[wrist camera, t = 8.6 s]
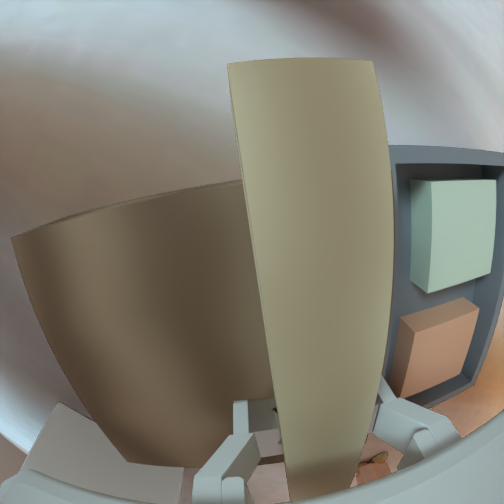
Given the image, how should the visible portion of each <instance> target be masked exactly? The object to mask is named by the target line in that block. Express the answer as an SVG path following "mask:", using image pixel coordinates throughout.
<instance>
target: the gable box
mask: <svg viewBox="0 0 504 504" xmlns="http://www.w3.org/2000/svg"><path fill="white" fill-rule="evenodd" d="M28 469H32V470H36V471H38V472H41V473H43V474H45V475H48V476H50V477H53V478H55V479H58V480H61V481H63V482H66V483H69V484H72V485H75V486H78V487H81V488H85V489H88V490H92V491H95V492H99V493H103V494H107V495H111V496H116V497H120V498H125V499H130V500H136V501H142V502H148V503H156V504H180V497H181V489H182V482H183V474H184V467H166V466H154V465H145V464H136V463H129V462H127V461H126V460H125V458H124V457H123V456H122V455H121V454H120V453H119V451H118V450H117V449H116V448H115V447H114V445H113V444H112V443H111V442H110V440H109V439H108V438H107V437H106V435H105V434H104V433H103V431H102V430H101V429H100V427H99V426H98V425H97V423H96V422H94V421H93V420H91V419H89V418H87V417H85V416H83V415H81V414H80V413H78V412H76V411H74V410H72V409H71V408H69V407H67V406H66V405H64V404H62V403H61V402H60V403H57V405H56V407H55V408H54V410H53V412H52V413H51V415H50V417H49V418H48V420H47V422H46V423H45V425H44V427H43V428H42V430H41V432H40V434H39V435H38V437H37V439H36V441H35V442H34V444H33V446H32V448H31V450H30V452H29V453H28V455H27V457H26V459H25V461H24V463H23V465H22V467H21V469H20V471H19V473H20V472H22V471H25V470H28Z"/></svg>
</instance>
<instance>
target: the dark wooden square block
mask: <svg viewBox="0 0 504 504" xmlns="http://www.w3.org/2000/svg"><path fill="white" fill-rule="evenodd" d="M391 179H392V194H393V219H394V255H393V280H392V295H391V307H390V317H389V326H388V334H387V342H388V335H389V327H390V318H391V308H392V297H393V283H394V261H395V211H394V190H393V176H392V170H391ZM11 239H12V243H13V247H14V251H15V255H16V259H17V262H18V265H19V269H20V272H21V275H22V278H23V281H24V284H25V287H26V290H27V293H28V296H29V298H30V301H31V304H32V306H33V309H34V311H35V314H36V316H37V319H38V321H39V323H40V326H41V328H42V330H43V332H44V334H45V337H46V339H47V341H48V343H49V345H50V347H51V349H52V351H53V353H54V355H55V357H56V359H57V361H58V363H59V364H60V366H61V368H62V370H63V372H64V374H65V375H66V377H67V379H68V380H69V382H70V384H71V386H72V387H73V389H74V390H75V392H76V394H77V395H78V397H79V398H80V400H81V401H82V403H83V405H84V406H85V408H86V409H87V410H88V412H89V413H90V415H91V416H92V418H93V419H94V421H95V422H96V423H97V425H98V426H99V427H100V429H101V430H102V431H103V433H104V434H105V435H106V437H107V438H108V439H109V440H110V442H111V443H112V444H113V445H114V447H115V448H116V449H117V450H118V451H119V453H120V454H121V455H122V456H123V457H124V458H125V460H126V461H127V462H129V463H136V464H145V465H154V466H166V467H185V468H202V467H203V466H204V465H205V464H206V462H207V461H208V460H209V459H210V458H211V457H212V455H213V454H214V453H215V452H216V451H217V449H218V448H219V447H220V446H221V445H222V443H223V442H224V441H225V440H226V438H227V437H228V436H229V435H233V403H234V401H239V400H248V399H257V398H266V397H274V389H273V382H272V376H271V369H270V362H269V355H268V349H267V342H266V335H265V329H264V322H263V315H262V308H261V302H260V295H259V288H258V282H257V275H256V268H255V262H254V255H253V248H252V242H251V235H250V228H249V222H248V215H247V208H246V202H245V195H244V189H243V182H242V180H236V181H230V182H223V183H217V184H211V185H205V186H200V187H194V188H188V189H183V190H178V191H173V192H168V193H163V194H158V195H153V196H148V197H144V198H139V199H135V200H130V201H126V202H122V203H118V204H113V205H109V206H105V207H101V208H97V209H94V210H90V211H86V212H82V213H79V214H75V215H72V216H68V217H65V218H62V219H59V220H56V221H53V222H51V223H48V224H45V225H42V226H40V227H37V228H35V229H32V230H29V231H27V232H24V233H22V234H19V235H17V236H14V237H12V238H11ZM387 342H386V349H387ZM386 349H385V355H384V361H383V367H384V362H385V356H386ZM383 367H382V373H383ZM382 373H381V375H382ZM367 437H368V434H367ZM367 437H366V440H367ZM365 443H366V441H365ZM280 462H284V456H283V454H280V455H274V456H268V457H261V460H260V461H259V463H258V465H264V464H272V463H280Z"/></svg>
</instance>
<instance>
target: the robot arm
mask: <svg viewBox="0 0 504 504" xmlns="http://www.w3.org/2000/svg"><path fill="white" fill-rule="evenodd" d="M370 433H372V434H374V435H375V436H377V437H378V438H380V439H381V440H383V441H384V442H386V443H387V444H389V445H390V446H392V447H394V448H395V449H397V450H398V451H400V452H401V453H403V454H404V456H403V457H402V459H401V461H400V463H399V465H398V466H397V469H398V471H397V472H394V473H392V474H389V475H387V476H384V477H382V478H379V479H376V480H373V481H370V482H367V483H364V484H361V485H358V486H355V487H352V488H348V489H345V490H341V491H337V492H334V493H330V494H325V495H321V496H316V497H312V498H307V499H301V500H296V501H290V502H283V503H276V504H504V410H502V411H501V412H500V413H498V414H497V415H496V416H494V417H493V418H492V419H490V420H489V421H488V422H486V423H485V424H483V425H482V426H480V427H479V428H477V429H476V430H474V431H473V432H471V433H470V434H468V435H467V436H465V437H464V438H462V437H461V436H460V434H459V433H458V432H457V430H456V429H455V427H454V426H453V424H452V423H451V421H450V420H449V419H448V417H446V416H444V415H441V414H439V413H436V412H434V411H431V410H429V409H426V408H424V407H422V406H419V405H417V404H414V403H412V402H410V401H407V400H405V399H403V398H396V396H395V395H394V393H393V392H392V390H391V389H390V387H389V385H388V384H387V382H386V381H385V379H384V378H383V376H382V375H381V378H380V383H379V388H378V393H377V398H376V402H375V406H374V411H373V415H372V419H371V423H370V426H369V430H368V434H370ZM280 454H283V446H282V439H281V432H280V426H279V420H278V414H277V408H276V402H275V396H274V397H266V398H257V399H248V400H239V401H234V403H233V435H229V436H228V437H227V438H226V440H225V441H224V442H223V443H222V445H221V446H220V447H219V448H218V449H217V451H216V452H215V453H214V454H213V455H212V457H211V458H210V459H209V460H208V461H207V462H206V464H205V465H204V466H203V467H202V468H201V469H200V470H199V472H198V473H197V474H196V475H195V476H194V480H193V491H192V502H191V504H254V500H253V498H252V496H251V494H250V492H249V490H248V488H247V486H246V483H247V481H248V480H249V478H250V476H251V475H252V473H253V471H254V470H255V468H256V466H257V465H258V463H259V461H260V460H261V457H268V456H274V455H280ZM0 504H156V503H148V502H142V501H136V500H130V499H125V498H120V497H116V496H111V495H107V494H103V493H99V492H95V491H92V490H88V489H85V488H81V487H78V486H75V485H72V484H69V483H66V482H63V481H61V480H58V479H55V478H53V477H50V476H48V475H45V474H43V473H41V472H38V471H36V470H32V469H28V470H25V471H22V472H20V473H18V474H16V475H14V476H13V477H11V478H9V479H7V480H5V481H4V482H3V483H2V485H1V486H0Z"/></svg>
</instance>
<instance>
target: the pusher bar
mask: <svg viewBox="0 0 504 504" xmlns="http://www.w3.org/2000/svg"><path fill="white" fill-rule="evenodd" d="M227 68H228V78H229V88H230V98H231V108H232V116H233V122H234V129H235V136H236V142H237V149H238V155H239V162H240V169H241V175H242V182H243V189H244V195H245V202H246V208H247V215H248V222H249V228H250V235H251V242H252V248H253V255H254V262H255V268H256V275H257V282H258V288H259V295H260V302H261V308H262V315H263V322H264V329H265V335H266V342H267V349H268V355H269V362H270V369H271V376H272V382H273V389H274V396H275V402H276V408H277V414H278V420H279V426H280V432H281V439H282V446H283V456H284V463H285V470H286V477H287V483H288V489H289V496H290V501H296V500H301V499H307V498H312V497H316V496H321V495H325V494H330V493H334V492H337V491H341V490H345V489H348V488H350V485H351V483H352V480H353V477H354V475H355V472H356V469H357V466H358V463H359V460H360V457H361V454H362V451H363V447H364V444H365V441H366V437H367V434H368V430H369V426H370V423H371V419H372V415H373V411H374V406H375V402H376V398H377V393H378V388H379V383H380V378H381V373H382V367H383V361H384V355H385V349H386V342H387V334H388V326H389V317H390V307H391V295H392V280H393V255H394V219H393V194H392V179H391V167H390V157H389V148H388V140H387V133H386V126H385V119H384V113H383V108H382V102H381V97H380V92H379V87H378V82H377V78H376V73H375V69H374V65H373V61H367V60H356V59H340V58H281V59H265V60H254V61H245V62H236V63H229V64H227Z"/></svg>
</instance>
